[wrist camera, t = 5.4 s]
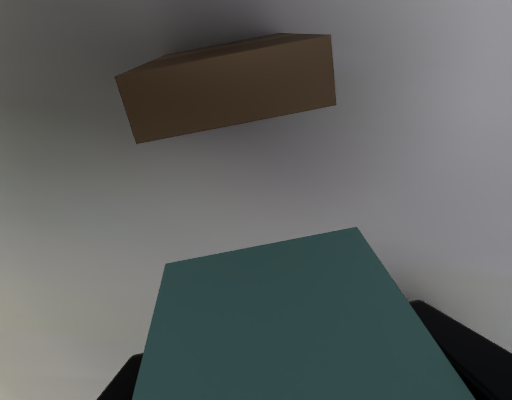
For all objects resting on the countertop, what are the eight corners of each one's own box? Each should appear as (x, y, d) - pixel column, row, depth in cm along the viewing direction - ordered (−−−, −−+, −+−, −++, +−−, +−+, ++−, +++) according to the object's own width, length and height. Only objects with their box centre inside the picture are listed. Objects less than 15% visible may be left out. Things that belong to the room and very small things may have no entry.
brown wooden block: (285, 72, 16) (336, 105, 9) (174, 93, 16) (136, 143, 9) (280, 33, 16) (330, 34, 8) (164, 55, 16) (114, 76, 8)
